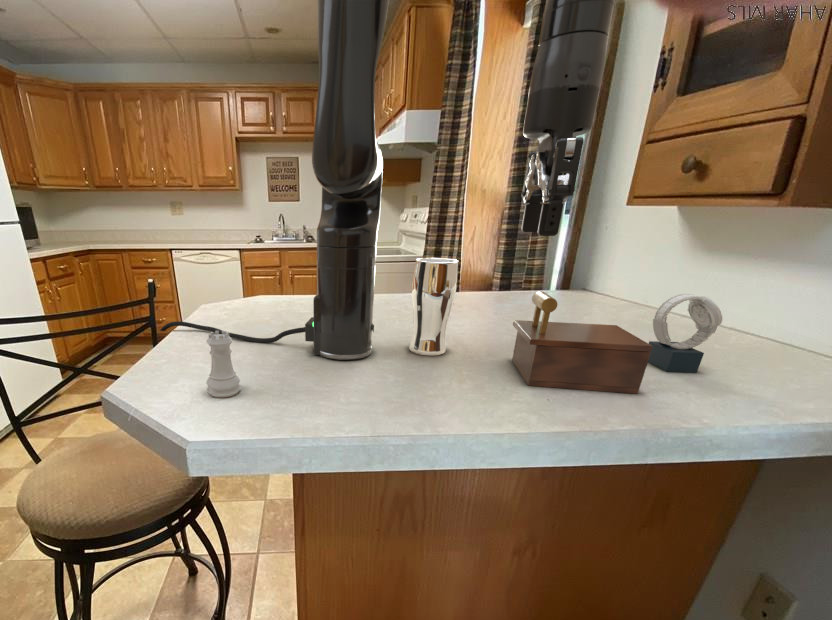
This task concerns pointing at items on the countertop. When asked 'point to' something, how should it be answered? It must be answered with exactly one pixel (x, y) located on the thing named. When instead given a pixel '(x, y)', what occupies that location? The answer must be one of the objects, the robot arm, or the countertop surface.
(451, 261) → the beer glass
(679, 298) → the watch
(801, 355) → the countertop surface
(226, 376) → the rook chess piece
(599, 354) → the brown wooden box
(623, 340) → the panel with brass rod
